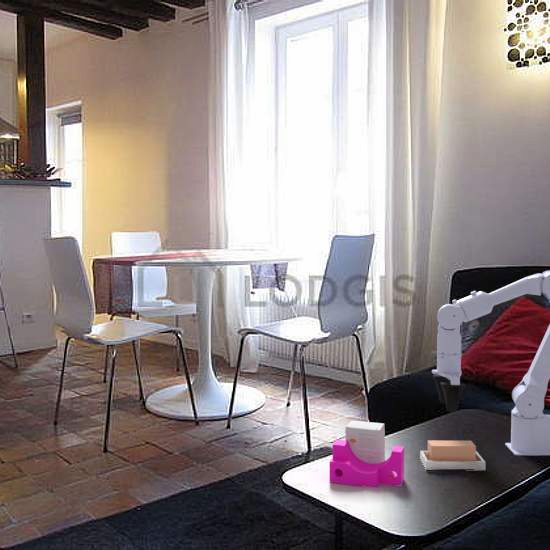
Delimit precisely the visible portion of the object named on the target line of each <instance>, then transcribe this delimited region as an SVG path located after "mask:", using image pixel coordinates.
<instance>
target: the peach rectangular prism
mask: <svg viewBox="0 0 550 550" xmlns="http://www.w3.org/2000/svg"><path fill="white" fill-rule="evenodd" d="M427 451H428V455H427V460H428V461H476V451H477V446H476V445H475V443H474V442H473V441H472V440H436V439H435V440H433V439H431V440H427Z"/></svg>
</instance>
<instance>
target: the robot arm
mask: <svg viewBox="0 0 550 550" xmlns="http://www.w3.org/2000/svg"><path fill="white" fill-rule="evenodd" d="M542 294H543V296H544V297H545V298H546V299H547V300H548V301H549V303H550V269H549V270H548V269H547V270H545V271H543V272H542V273H540V272H539V273H538V272H537V273H534V274H532V275H528V276H525V277H523V278H521V279H519V280H516V281H514V282H512V283H509V284H507V285H505V286H502V287H501V288H498V289H496V290H494V291H491V292H489V293H487V292H484V291H482V290H480V291H476V290H473V291H471V292H470V295H468V296H465V297H463V298H460V299H458V300H457V299H453V300H452V303H446V304H444V305H441V307H440V308H439V309H438V311H437V315H436V318H437V322H438V326H437V334H436V335H437V336H436V369H432V370H431V373H432V374H433V375H432V376H433V380H434V381H435V384H436V387H437V392H438V398H439V402H440V404H445V407H446V411H447V412H448V413H450V412H451V413H452V412H453V413H456V412H457V410H458V408H459V403H460V399H461V395H462V394H463V392H464V391H465V388H466V384H465V383H461V376H462V372H463V371H462V366H461V365H462V335H461V325H462V323H468V322H471V321H473V320H475V319H478V318H481V317H483V316H486V315H488V314H491V312H492V311H493V308H494V306H497V305H499V304H502V303H505V302H508V301H510V300H513V299H516V298H520V297H521V296H525V295H535V296H542ZM540 342H541V343H540V345H539V347H538V349H537V351H536V354H535V356H534V358H533V359H532V361H531V364H530V366H529V369H528V371H527V372H526V374H524V376H523V378H522V380H521V381H520V382H519V383H518V384H517V385H516V386H515V387H514V388H513V390H512V392H511V398H512V400H513V402H514V405H515V406H514V407H513V409H511V416H510V417H511V418H510V419H511V420H510V423H511V424H510V427H511V428H510V442H505V444H504V445H505V446H506V447H507V448H508V449H509V450H510V452H512V453H513V455H514V456H550V414H544V408H545V398H546V397H545V396H546V395H547V389H548V385H549V381H550V324H549V325H548V326H547V329H546V331H545V334H544V336H543V338H542V340H541V341H540Z"/></svg>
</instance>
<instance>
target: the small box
mask: <svg viewBox="0 0 550 550" xmlns="http://www.w3.org/2000/svg"><path fill="white" fill-rule="evenodd" d="M385 435H386V431H385V423H381V422H371V421H362V420H361V421H360V420H351V421H349V423H348V424H347V425H346V426H345V440H347V441H349V445H350V448H351V450H352V451H353V453H354V454H355V455H356V456H357V457H358V458H359V459H360V460H362V461H364V462H366V463H370V464H378V463H382V462H384V461H386V445H385V443H386V440H385V439H386V437H385Z"/></svg>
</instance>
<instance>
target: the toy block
mask: <svg viewBox="0 0 550 550" xmlns="http://www.w3.org/2000/svg"><path fill="white" fill-rule="evenodd" d="M404 476H405V446H399V445H394V446H393V448H392V450H391V453H390V456H389V457H388V459H385V461H384V462H382V463H378V464H370V463H366V462H364V461H362V460H360V459H359V458H358V457H357V456H356V455H355V454H354V453H353V451H352V450H351V448H350V445H349V441H347V440H346V439H338V438H337V439H336V440H335V441H334V442H333V443H332V458H331V459H330V460H329V483H333V484H334V483H335V484H342V485H348V486H349V485H350V486H355V487H368V488H376V489H377V488H378V487H379V485H380V484H382V485H388V486H394V485H401V484H402V485H403V483H404V481H405V477H404ZM403 480H404V481H403ZM402 482H403V483H402ZM402 485H401V486H402Z"/></svg>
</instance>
